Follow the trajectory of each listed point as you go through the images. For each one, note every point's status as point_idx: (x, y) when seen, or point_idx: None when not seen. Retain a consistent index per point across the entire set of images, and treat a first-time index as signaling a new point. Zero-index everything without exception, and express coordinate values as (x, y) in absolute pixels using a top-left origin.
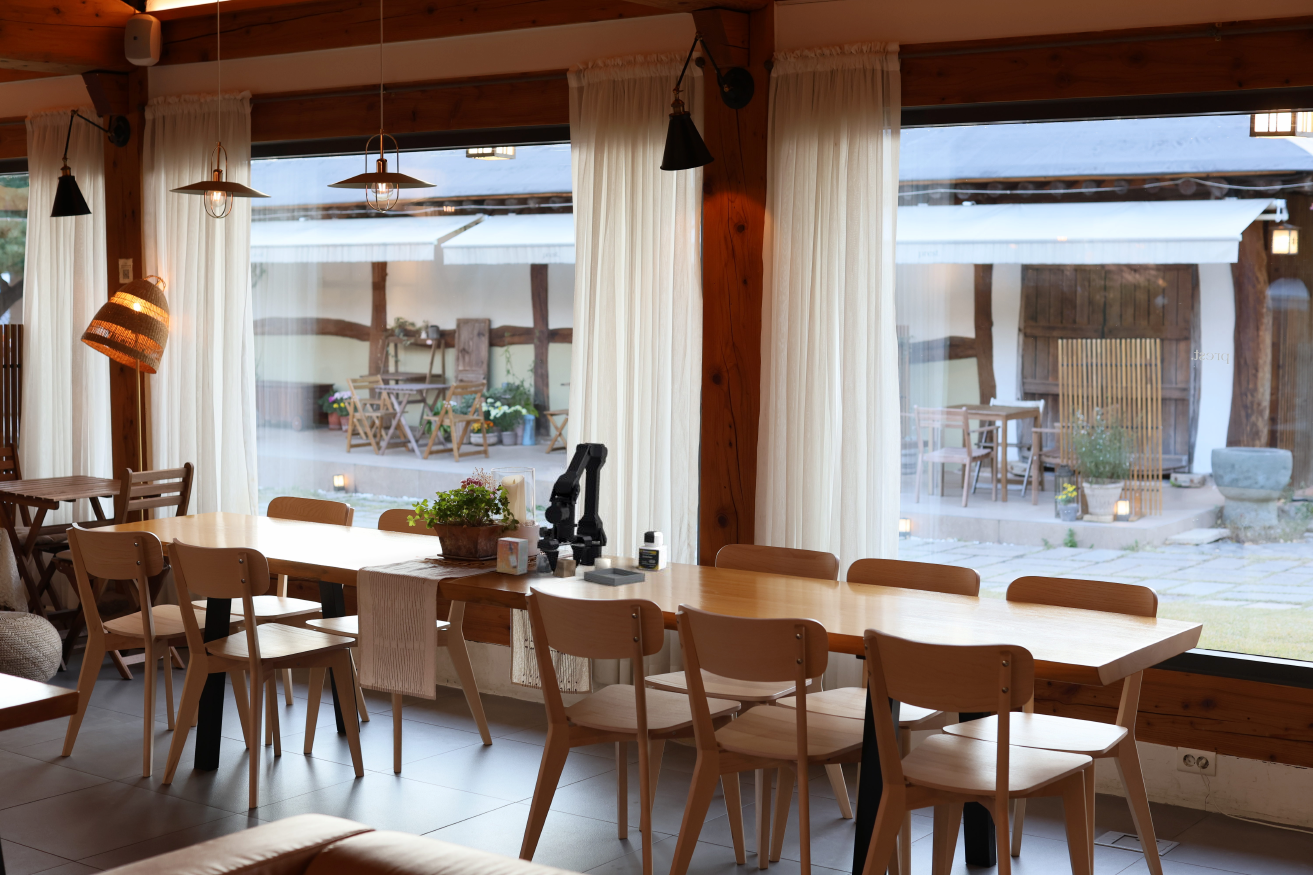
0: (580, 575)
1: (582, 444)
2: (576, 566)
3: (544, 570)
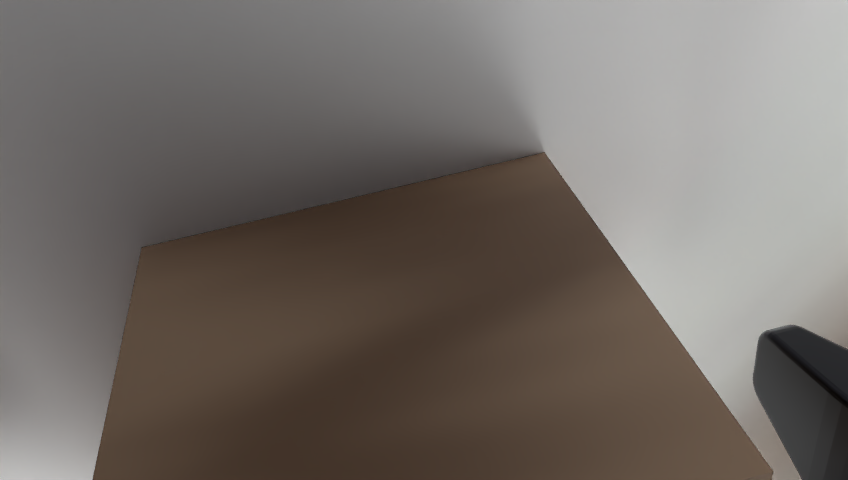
0: None
1: None
2: (790, 435)
3: None
